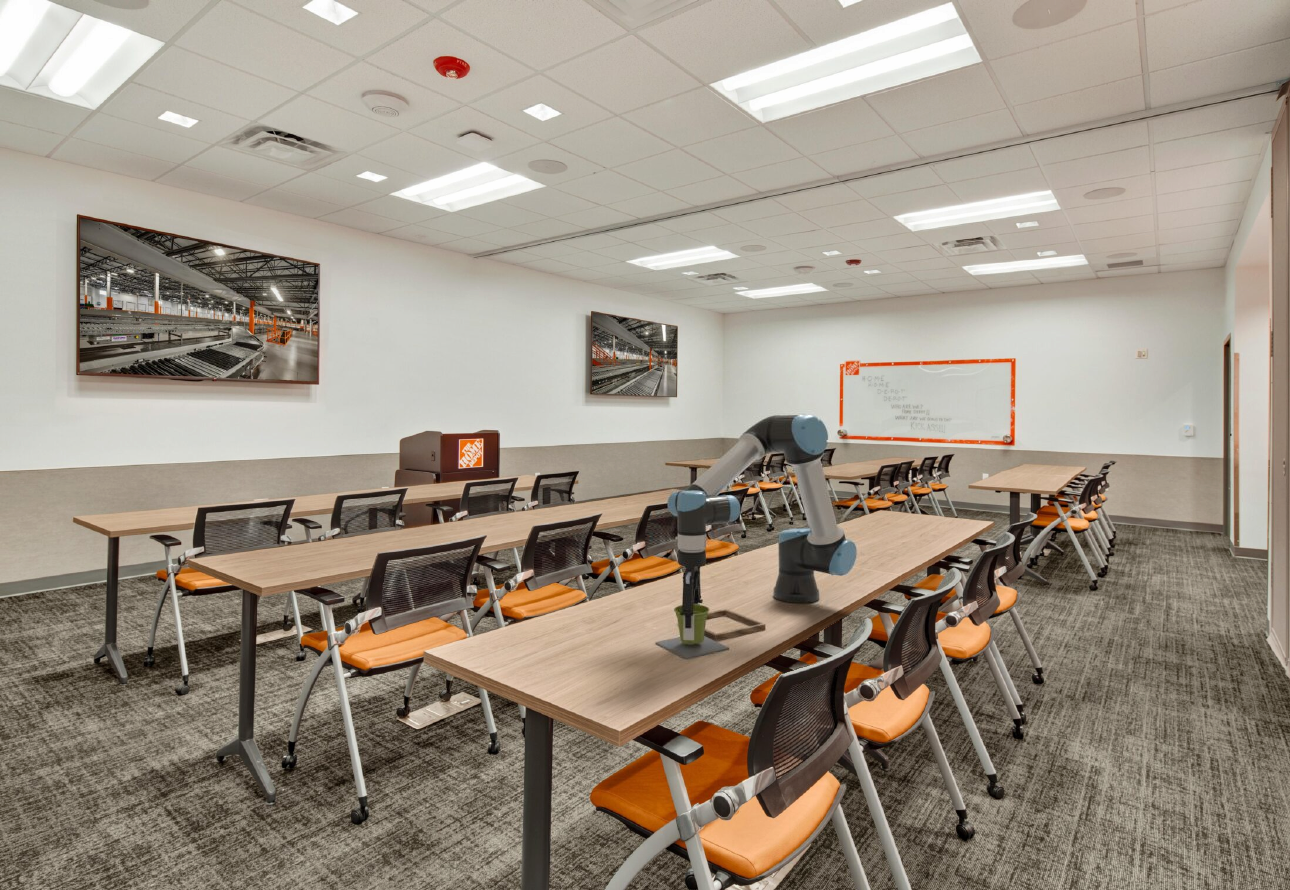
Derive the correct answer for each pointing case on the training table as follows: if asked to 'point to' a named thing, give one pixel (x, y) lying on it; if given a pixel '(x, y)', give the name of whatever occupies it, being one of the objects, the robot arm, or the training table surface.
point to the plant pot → (699, 623)
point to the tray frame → (753, 628)
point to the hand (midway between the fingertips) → (691, 633)
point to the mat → (691, 647)
